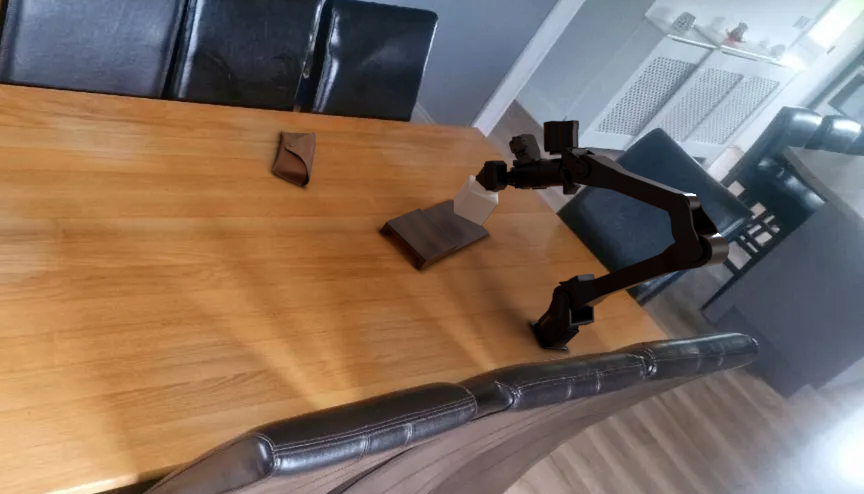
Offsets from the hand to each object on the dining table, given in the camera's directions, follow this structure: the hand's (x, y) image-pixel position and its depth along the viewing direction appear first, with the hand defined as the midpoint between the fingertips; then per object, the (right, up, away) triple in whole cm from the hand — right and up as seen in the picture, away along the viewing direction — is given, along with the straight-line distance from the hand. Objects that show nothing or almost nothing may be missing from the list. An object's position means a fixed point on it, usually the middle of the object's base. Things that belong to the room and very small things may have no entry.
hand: (485, 177), depth 158 cm
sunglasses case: (-43, +4, +1) cm, 43 cm away
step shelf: (-11, -12, +1) cm, 16 cm away
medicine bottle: (-3, -7, +5) cm, 9 cm away
